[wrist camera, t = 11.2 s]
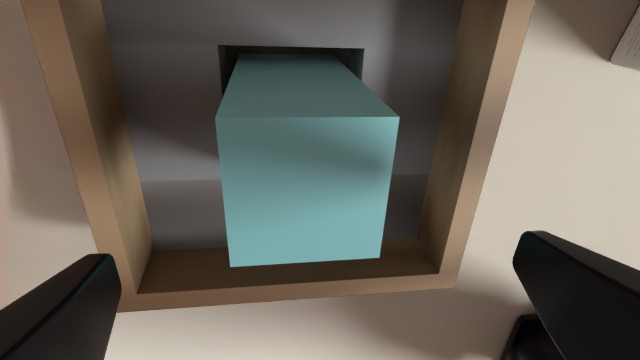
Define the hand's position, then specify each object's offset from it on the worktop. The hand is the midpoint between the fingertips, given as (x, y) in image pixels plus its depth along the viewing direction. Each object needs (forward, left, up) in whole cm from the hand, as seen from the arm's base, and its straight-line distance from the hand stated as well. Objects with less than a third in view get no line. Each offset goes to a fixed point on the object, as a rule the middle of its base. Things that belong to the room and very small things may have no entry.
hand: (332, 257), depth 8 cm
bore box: (0, 0, -12) cm, 12 cm away
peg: (0, 0, -12) cm, 12 cm away
